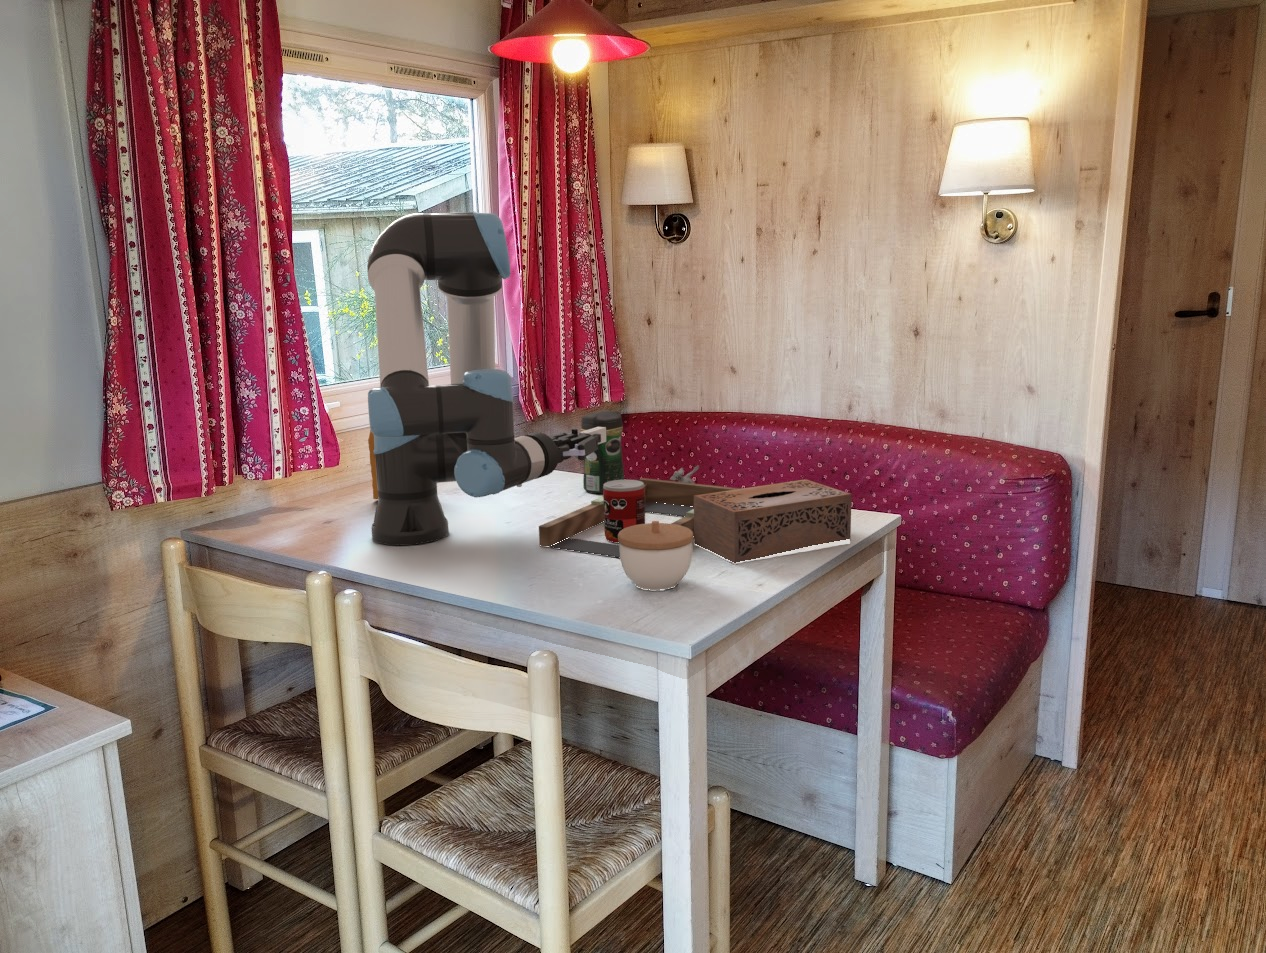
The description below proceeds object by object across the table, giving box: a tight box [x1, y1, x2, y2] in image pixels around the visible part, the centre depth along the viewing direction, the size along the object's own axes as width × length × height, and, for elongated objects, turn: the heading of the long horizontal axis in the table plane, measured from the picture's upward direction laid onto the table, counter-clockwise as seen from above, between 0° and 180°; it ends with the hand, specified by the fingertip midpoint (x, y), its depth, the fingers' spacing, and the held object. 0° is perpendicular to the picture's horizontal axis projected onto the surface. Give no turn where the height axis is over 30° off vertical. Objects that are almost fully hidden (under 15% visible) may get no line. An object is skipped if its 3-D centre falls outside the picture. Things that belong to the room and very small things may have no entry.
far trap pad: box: [645, 502, 694, 517], centre depth 223 cm, size 8×19×1 cm, turn 60°
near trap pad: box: [549, 537, 620, 557], centre depth 197 cm, size 6×19×1 cm, turn 60°
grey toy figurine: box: [669, 465, 700, 484], centre depth 236 cm, size 10×6×9 cm
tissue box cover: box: [693, 478, 853, 563], centre depth 197 cm, size 26×14×10 cm, turn 116°
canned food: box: [602, 479, 646, 543], centre depth 203 cm, size 8×8×11 cm
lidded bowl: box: [618, 520, 694, 590], centre depth 175 cm, size 13×13×11 cm
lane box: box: [538, 477, 742, 547], centre depth 211 cm, size 40×24×5 cm, turn 150°
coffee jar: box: [580, 410, 626, 494], centre depth 242 cm, size 10×8×19 cm
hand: (602, 434), depth 193 cm, fingers closed
